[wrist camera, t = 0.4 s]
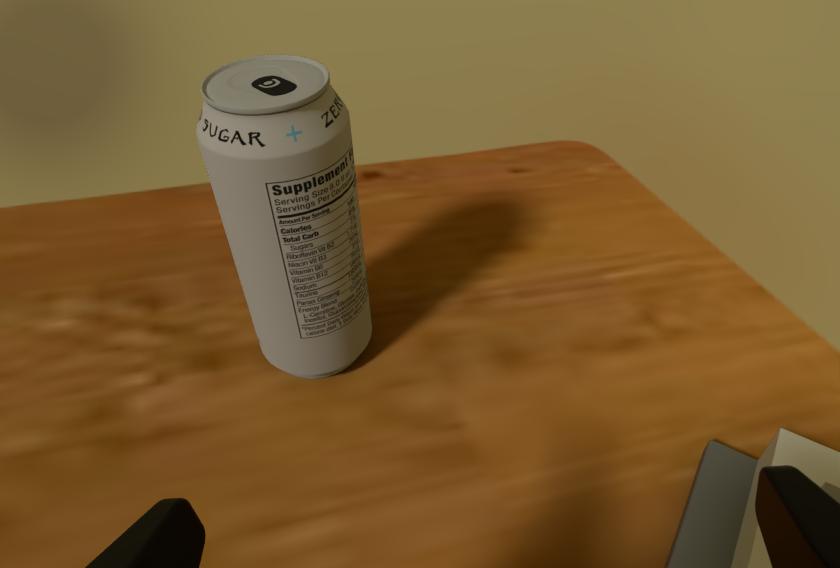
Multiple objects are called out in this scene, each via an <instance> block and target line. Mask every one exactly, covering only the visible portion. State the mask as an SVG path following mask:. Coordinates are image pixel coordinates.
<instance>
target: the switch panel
mask: <svg viewBox="0 0 840 568" xmlns="http://www.w3.org/2000/svg"><path fill="white" fill-rule="evenodd" d="M782 465H790V466H793V467H795V468H797V469H799V470H800V471H801V472H802V473H804V474H805V475H806V476H807V477H809V478H810V479H811V480H812V481H813V482H815V483H816V484H817V485H818V486H819V487H821V488H822V489H823V490H824V491H826V492H827V493H828V494H829V495H830V496H832V497H833V498H834V499H835V500H836V501H838V502H839V503H840V452H838V451H835V450H833V449H830V448H828V447H826V446H823V445H821V444H818V443H816V442H814V441H811V440H809V439H806V438H804V437H802V436H799V435H797V434H794V433H792V432H790V431H787V430H785V429H782V428H780V429H779V431H778V432H777V434H776V435H775V437H774V438H773V439H772V441H771V442H770V444H769V445H768V447H767V448H766V450H765V451H764V453H763V454H762V455H761V457H760V458H759V460H756V459H754V458H751V457H749V456H747V455H745V454H742V453H740V452H738V451H736V450H733V449H731V448H729V447H727V446H724V445H722V444H720V443H718V442H715V441H713V440H711V439H710V440H709V442H708V444H707V446H706V448H705V449H704V451H703V454H702V457H701V460H700V463H699V466H698V469H697V472H696V475H695V478H694V481H693V484H692V487H691V490H690V493H689V496H688V499H687V502H686V505H685V508H684V511H683V514H682V517H681V520H680V523H679V526H678V529H677V532H676V535H675V538H674V541H673V544H672V547H671V550H670V553H669V556H668V559H667V562H666V565H665V568H772V565H771V562H770V559H769V556H768V553H767V549H766V546H765V543H764V540H763V537H762V534H761V531H760V527H759V524H758V521H757V517H756V512H755V500H756V492H757V485H758V478H759V472H760V470H761V469H762V468H763V467H766V466H782Z"/></svg>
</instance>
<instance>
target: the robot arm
mask: <svg viewBox="0 0 840 568" xmlns="http://www.w3.org/2000/svg"><path fill="white" fill-rule="evenodd" d="M755 512H756V517H757V521H758V524H759V527H760V531H761V534H762V537H763V540H764V543H765V546H766V549H767V553H768V556H769V559H770V562H771V565H772V568H840V503H839V502H838V501H836V500H835V499H834V498H833V497H832V496H830V495H829V494H828V493H827V492H826V491H824V490H823V489H822V488H821V487H819V486H818V485H817V484H816V483H815V482H813V481H812V480H811V479H810V478H809V477H807V476H806V475H805V474H804V473H802V472H801V471H800V470H799V469H797V468H795V467H793V466H790V465H782V466H766V467H763V468H762V469H761V470H760V472H759V478H758V485H757V492H756V500H755ZM204 544H205V529H204V526H203V524H202V523H201V521H200V519H199V518H198V516H197V514H196V513H195V511H194V509H193V508H192V506H191V504H190V503H189V502H188V501H187V500H186V499H184V498H171V499H163V500H161V501H159V502H158V503H156V504H155V505H154V506H153V507H152V508H151V509H150V510H148V511H147V512H146V513H145V514H144V515H143V516H142V517H141V518H140V519H138V520H137V521H136V522H135V523H134V524H133V525H132V526H131V527H130V528H128V529H127V530H126V531H125V532H124V533H123V534H122V535H121V536H120V537H118V538H117V539H116V540H115V541H114V542H113V543H112V544H111V545H110V546H109V547H107V548H106V549H105V550H104V551H103V552H102V553H101V554H100V555H99V556H97V557H96V558H95V559H94V560H93V561H92V562H91V563H90V564H89V565H87V566H86V567H85V568H199V565H200V561H201V557H202V553H203V548H204Z"/></svg>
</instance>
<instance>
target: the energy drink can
mask: <svg viewBox="0 0 840 568" xmlns="http://www.w3.org/2000/svg"><path fill="white" fill-rule="evenodd" d="M329 83H330V78H329V72H328V71H327V69H326V68H325V66H323V65H322V64H321V63H319V62H317V61H315V60H312V59H309V58H306V57H301V56H294V55H265V56H256V57H251V58H246V59H242V60H238V61H235V62H231V63H229V64H226V65H224V66H221V67H219V68H218V69H216V70H214V71H212V72H211V73H210V74H209V75H207V76H206V77H205V79H204V80H203V81H202V84H201V87H200V89H201V94H202V97H203V99H204V104H203V107H202V111H201V114H200V118H199V121H198V125H197V129H196V134H197V139H198V143H199V146H200V149H201V153H202V156H203V159H204V163H205V166H206V169H207V173H208V176H209V179H210V182H211V186H212V189H213V192H214V196H215V199H216V202H217V205H218V209H219V212H220V215H221V219H222V222H223V225H224V228H225V232H226V235H227V238H228V242H229V245H230V248H231V251H232V255H233V258H234V261H235V265H236V268H237V271H238V275H239V278H240V281H241V284H242V288H243V291H244V294H245V298H246V301H247V304H248V307H249V311H250V314H251V317H252V321H253V324H254V327H255V330H256V334H257V337H258V340H259V344H260V347H261V350H262V352H263V354H264V356H265V357H266V359H267V360H268V361H269V362H270V363H271V364H273V365H274V366H276V367H277V368H279V369H281V370H283V371H286V372H288V373H289V374H292V375H294V376H297V377H302V378H311V379H316V378H324V377H328V376H331V375H334V374H336V373H339V372H341V371H343V370H344V369H346V368H347V367H349V366H350V365H351V364H352V363H353V362H354V361H355V360H356V359H357V357H358V356H359V355H360V354H361V353H362V352H363V351H364V349H365V348H366V346H367V345H368V343H369V340H370V338H371V333H372V322H371V313H370V303H369V294H368V285H367V276H366V266H365V257H364V248H363V238H362V229H361V220H360V211H359V201H358V192H357V183H356V173H355V164H354V155H353V146H352V136H351V127H350V118H349V111H348V109H347V108H346V106H345V104H344V103H343V101H342V100H341V99H340V97H339V96H338V94H337V93H336V92H335V90H334V89H333V88H332V86H331V85H330V84H329Z"/></svg>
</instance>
